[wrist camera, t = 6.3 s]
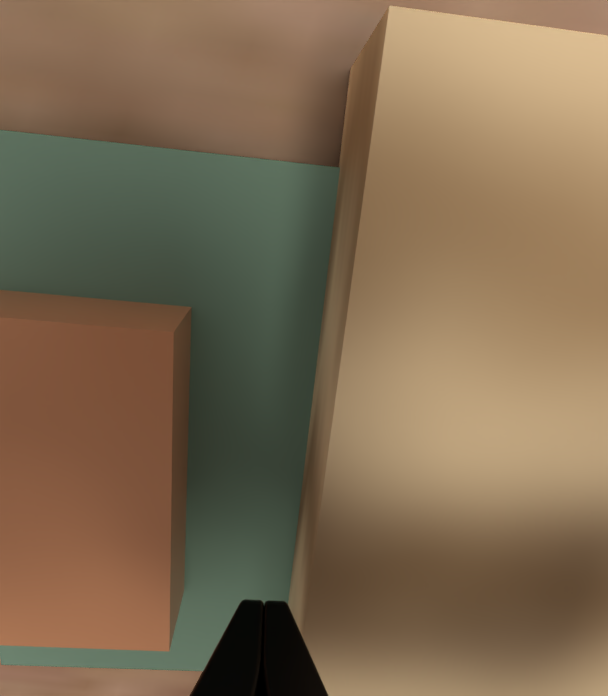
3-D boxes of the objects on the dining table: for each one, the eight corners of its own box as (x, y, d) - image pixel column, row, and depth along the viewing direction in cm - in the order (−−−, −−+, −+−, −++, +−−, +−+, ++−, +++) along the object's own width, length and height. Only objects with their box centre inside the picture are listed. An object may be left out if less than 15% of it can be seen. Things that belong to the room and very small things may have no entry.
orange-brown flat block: (-68, 643, 12) (-21, 580, 14) (169, 651, 13) (184, 590, 15) (-139, 305, 9) (-68, 283, 11) (173, 332, 10) (191, 306, 12)
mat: (279, 664, 16) (279, 673, 16) (6, 655, 16) (1, 664, 15) (338, 167, 11) (340, 167, 11) (-74, 121, 10) (-84, 120, 10)
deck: (568, 712, 18) (646, 857, 14) (275, 705, 17) (272, 856, 13) (816, 127, 11) (1093, 101, 7) (350, 68, 10) (389, 5, 6)
